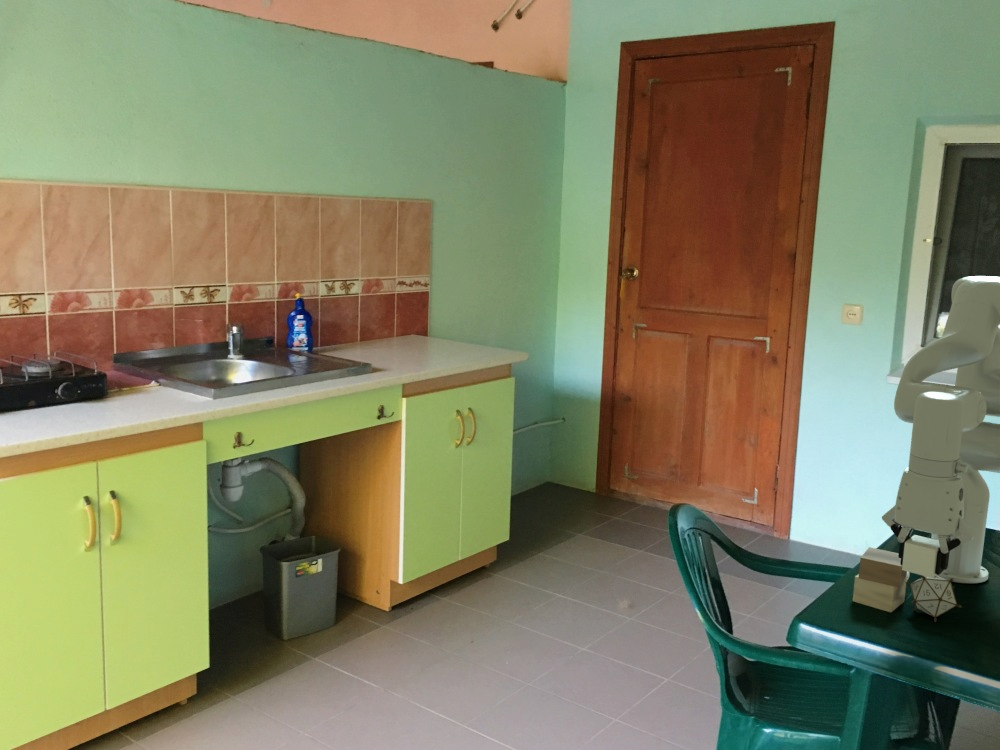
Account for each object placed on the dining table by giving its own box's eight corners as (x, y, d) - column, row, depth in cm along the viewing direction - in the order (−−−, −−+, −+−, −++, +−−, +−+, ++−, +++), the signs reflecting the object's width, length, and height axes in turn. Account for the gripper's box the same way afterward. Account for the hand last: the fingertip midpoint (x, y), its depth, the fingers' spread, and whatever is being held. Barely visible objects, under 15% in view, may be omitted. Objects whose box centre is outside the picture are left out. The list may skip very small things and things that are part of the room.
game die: (920, 630, 170) (916, 576, 174) (970, 627, 164) (964, 572, 169) (901, 617, 164) (897, 562, 169) (951, 614, 159) (945, 557, 163)
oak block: (866, 591, 178) (869, 566, 177) (904, 602, 173) (907, 576, 172) (852, 602, 173) (855, 576, 172) (890, 613, 168) (893, 587, 167)
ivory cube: (911, 561, 163) (914, 534, 162) (941, 569, 160) (945, 542, 159) (902, 569, 159) (904, 542, 158) (932, 578, 156) (935, 550, 155)
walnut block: (867, 567, 177) (869, 547, 176) (906, 575, 173) (908, 555, 172) (858, 578, 171) (860, 557, 170) (898, 587, 167) (901, 566, 166)
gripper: (994, 471, 153) (982, 575, 157) (889, 451, 164) (879, 548, 168) (981, 481, 148) (969, 588, 151) (873, 460, 159) (864, 560, 162)
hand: (922, 566), depth 159 cm, fingers closed on ivory cube, 5 cm apart
